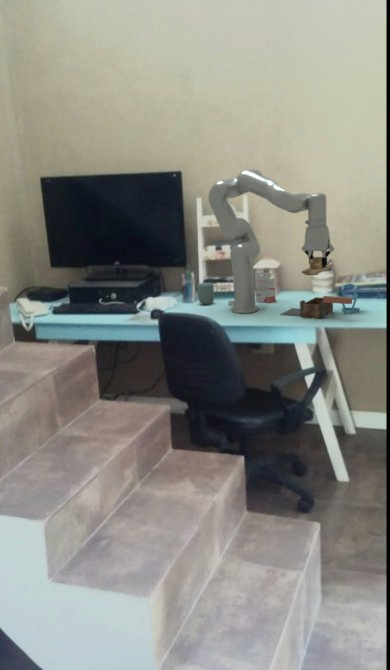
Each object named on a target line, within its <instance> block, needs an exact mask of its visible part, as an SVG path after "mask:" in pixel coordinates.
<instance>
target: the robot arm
mask: <svg viewBox="0 0 390 670" xmlns="http://www.w3.org/2000/svg"><path fill="white" fill-rule="evenodd" d="M246 193H252V194H253V195H256V196H258V197H261V198H263V199H265V200H267V201H268V202H269V203H271V204H272V205H273V206H275V207H277V208H280V209H282V210H284V211H286V212H288V213H293V214H297V213H301V212H306V211H307V217H308V218H307V220H305V223H304V224H305V225H307V226H306V229H305V234H304V244H303V245H302V247H301V251H303V252H304V253H305V255H306V256H307V258H308V264H309V265H310V259H312V258H314V257H315V255H314V252H321V255H322V257H323V258H322V267H325V266H326V265H328V257H329V255H331V253H332V252H334V251H335V248H334V246H333V245H332V243H331V238H330V230H329V226H328V225H327V195H326V194H325V193H323V192H317V193H315V192H314V193H303V192H301V193H295V194H294V193H292V192H289V191H288V190H285V189H283V188H281V187H280V186H279V185H278V183H277V182H276V181H275V180H274V179H273V178H272V179H271V178H270V177H267V176H266V175H265V176H264V175H263V174H262V172H261V171H260V170H258V169H255V168H251V169H248V168H247V169H244V170H242V171H240V173H239V174H238V175H237V176H235V177H234V176H233V178H226V179H221V180H217V181H216V182H215V183H213V184H212V186H211V187H210V189H209V192H208V203H209V206H210V208H211V210H212V213H213V215H214V216H215V218H216V222H217V224H218V225H219V228H220V230H221V232H222V235H223V236H224V238H225V239H226V241H229V242H234V241H235V242H236V243H235V244H233V246H232V247H231V248H230V253H229V255H230V256H229V257H230V261H231V268H232V277H233V295H234V296H233V297H234V300H229V301H228V303H227V305H228V306H231V307H232V308H231V312H233V313H235V314H251V313H256V312H258V311H259V310H260V307H259V305H256V288H255V270H254V266H253V265H254V264H253V263H252V262H253V260H255V259H256V258H257V257H258V256H259V255H260V252H261V251H260V250H261V247H260V244H259V241H258V239H257V237H256V235H255V232H254V230H253V228H252V226H251V224H250V223H249V222H248V221H247V219H244V218H243V217H237V215H236V214H235V211H234V209H233V207H232V205H231V204H230V203H229V202H228V199H233V198H234V199H235V198H237V197H240V196H242V195H244V194H246Z"/></svg>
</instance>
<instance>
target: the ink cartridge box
mask: <svg viewBox="0 0 390 670" xmlns="http://www.w3.org/2000/svg"><path fill="white" fill-rule="evenodd" d="M275 279H276V278H275V277H272V276H271V275H270V272H264V271H263V272H262V271H261V272H260V271H254V284H255V303H265V304H266V303H267V304H272V303H275V302H276V299H277V298H276V282H275Z"/></svg>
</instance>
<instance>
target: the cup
mask: <svg viewBox="0 0 390 670" xmlns="http://www.w3.org/2000/svg"><path fill="white" fill-rule="evenodd" d="M196 288H197V298H198V301H199V303H200V304H201V305H207V306H208V305H212V303H213V302H214V300H215V287H214V283H213V282H199V283H198V284H197V286H196Z"/></svg>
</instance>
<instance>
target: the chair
mask: <svg viewBox="0 0 390 670" xmlns="http://www.w3.org/2000/svg"><path fill="white" fill-rule="evenodd" d="M340 287H341V288H340V289H341V297H352V301H353V302H352V306H351V307H346V304H341V305H342V307H341V311H342V312H343V314H344V315H347V313H348V312H347V311H350V312H349V314H350V315H353V314H355V313H356V311H357V312H359V311H360V310H361V309H360V307H355V305H356V303H357V299H358V296H359V294H357V289H358V288H359V287H358V285H355V284H353V283H346V284H344V285H343V284H342V286H340ZM346 289H352V290H353V294H348V293H346Z"/></svg>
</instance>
